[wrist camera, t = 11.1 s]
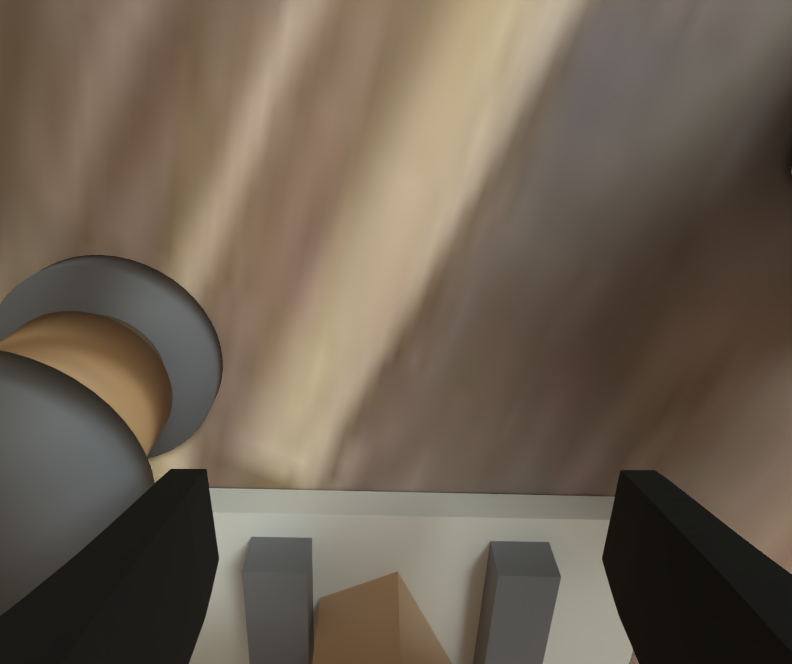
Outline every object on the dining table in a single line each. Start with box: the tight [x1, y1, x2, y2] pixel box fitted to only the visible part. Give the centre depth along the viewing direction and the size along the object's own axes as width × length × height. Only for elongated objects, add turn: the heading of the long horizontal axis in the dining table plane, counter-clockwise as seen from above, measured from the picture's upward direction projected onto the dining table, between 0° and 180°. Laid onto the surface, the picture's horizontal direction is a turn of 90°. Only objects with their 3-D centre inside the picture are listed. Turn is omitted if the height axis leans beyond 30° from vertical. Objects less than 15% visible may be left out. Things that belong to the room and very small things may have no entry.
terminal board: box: [189, 488, 633, 664], centre depth 22 cm, size 18×12×3 cm, turn 87°
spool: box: [0, 255, 223, 616], centre depth 15 cm, size 6×6×7 cm
